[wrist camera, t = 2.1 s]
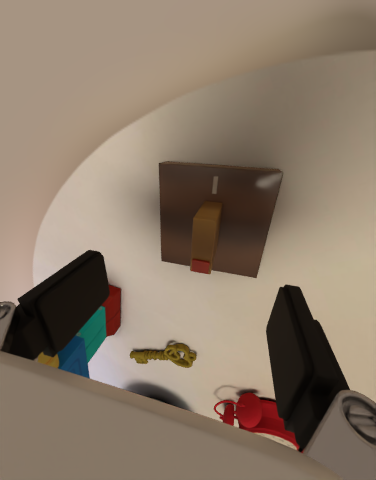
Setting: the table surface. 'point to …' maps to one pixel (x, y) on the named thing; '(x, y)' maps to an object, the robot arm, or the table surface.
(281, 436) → the alarm clock
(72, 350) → the toy robot
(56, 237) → the table surface
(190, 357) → the key
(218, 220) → the thumbturn
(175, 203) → the plate
